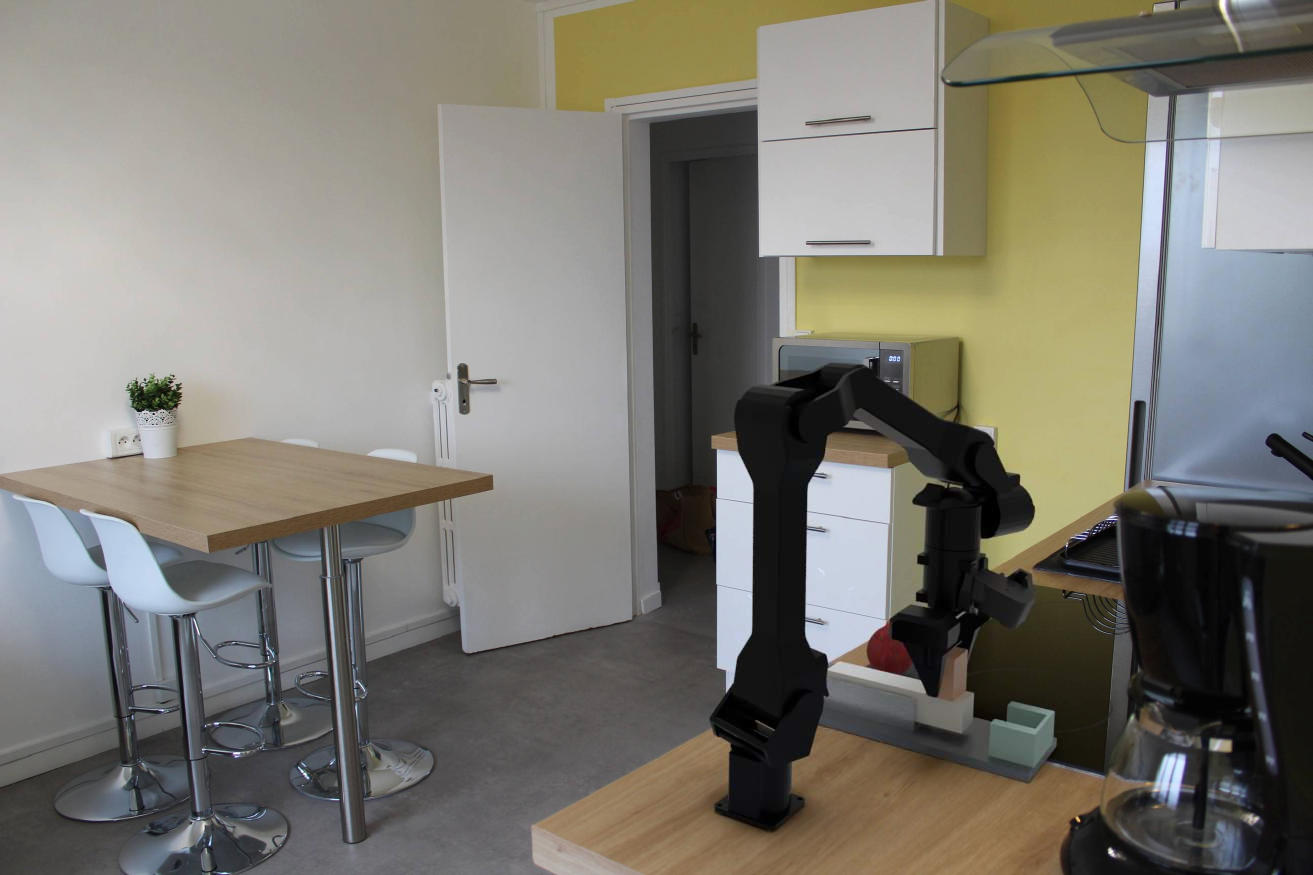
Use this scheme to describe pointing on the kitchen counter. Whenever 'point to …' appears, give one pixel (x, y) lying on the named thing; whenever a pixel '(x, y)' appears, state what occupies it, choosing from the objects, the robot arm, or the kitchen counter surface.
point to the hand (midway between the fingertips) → (946, 685)
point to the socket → (1022, 734)
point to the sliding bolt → (921, 690)
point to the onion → (887, 653)
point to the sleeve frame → (914, 729)
